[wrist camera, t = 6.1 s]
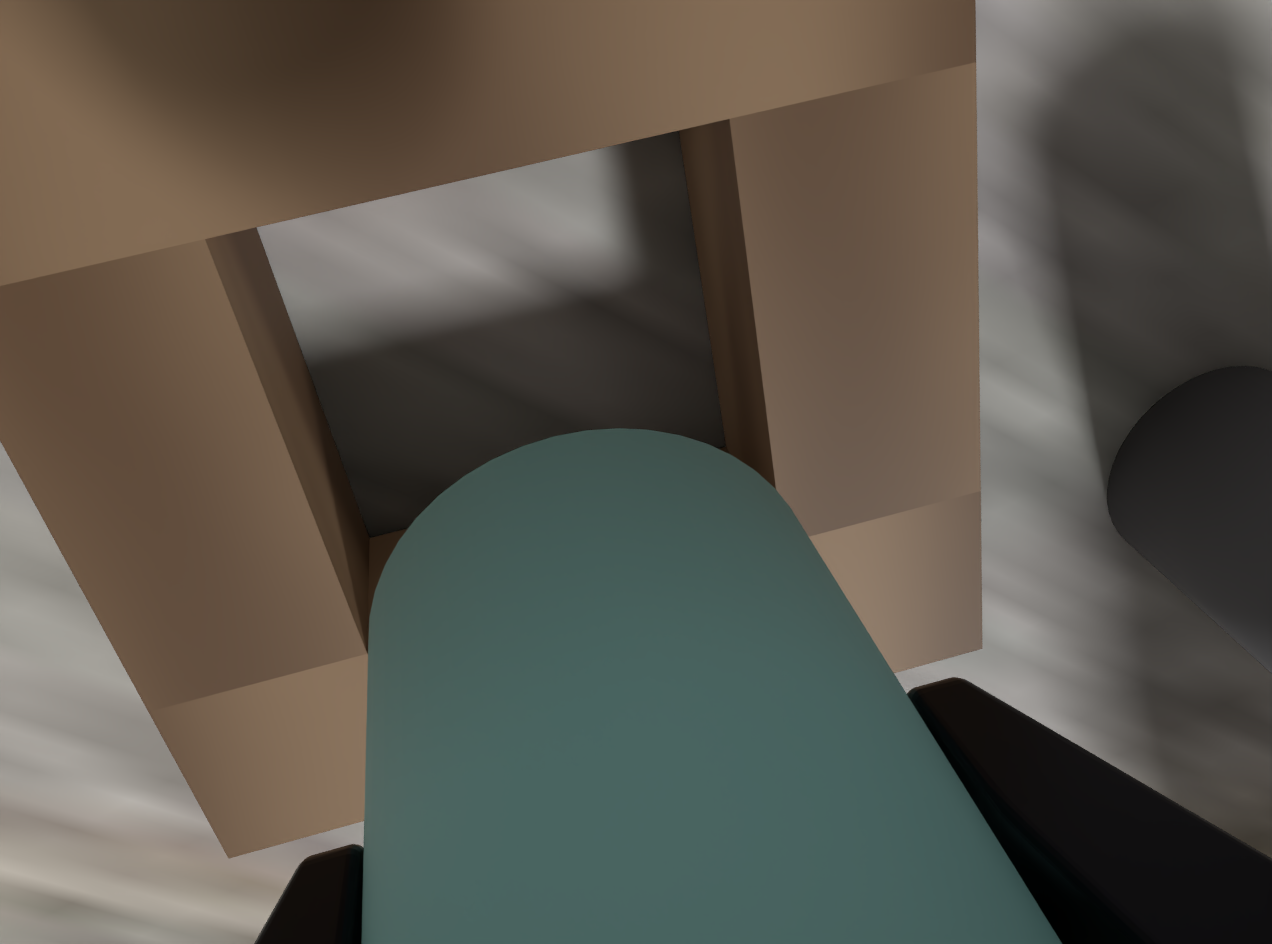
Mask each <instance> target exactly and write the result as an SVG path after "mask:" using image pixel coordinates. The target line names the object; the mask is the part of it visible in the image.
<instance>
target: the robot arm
mask: <svg viewBox="0 0 1272 944" xmlns="http://www.w3.org/2000/svg"><path fill="white" fill-rule="evenodd" d="M907 695H908V697H909V699H910V700H911V702H912V703H913V705H914V707H915V708H916V710H917V711H918V713H919V715H920V716H921V718H922V719H923V721H924V723H925V724H926V726H927V728H928V729H929V731H930V732H931V734H932V736H933V737H934V739H935V740H936V742H937V744H938V745H939V747H940V748H941V750H942V752H943V753H944V755H945V756H946V758H947V760H948V761H949V763H950V764H951V766H952V768H953V769H954V771H955V772H956V774H957V776H958V777H959V779H960V780H961V782H962V784H963V785H964V787H965V788H966V790H967V792H968V793H969V795H970V797H971V798H972V800H973V801H974V803H975V805H976V806H977V808H978V809H979V811H980V813H981V814H982V816H983V817H984V819H985V821H986V822H987V824H988V825H989V827H990V829H991V830H992V832H993V833H994V835H995V837H996V838H997V840H998V841H999V843H1000V845H1001V846H1002V848H1003V849H1004V851H1005V853H1006V854H1007V856H1008V857H1009V859H1010V861H1011V862H1012V864H1013V865H1014V867H1015V869H1016V870H1017V872H1018V874H1019V875H1020V877H1021V878H1022V880H1023V882H1024V883H1025V885H1026V886H1027V888H1028V890H1029V891H1030V893H1031V894H1032V896H1033V898H1034V899H1035V901H1036V902H1037V904H1038V906H1039V907H1040V909H1041V910H1042V912H1043V914H1044V915H1045V917H1046V918H1047V920H1048V922H1049V923H1050V925H1051V926H1052V928H1053V930H1054V931H1055V933H1056V934H1057V936H1058V938H1059V939H1060V941H1061V943H1062V944H1272V859H1271V858H1270V857H1268V856H1266V855H1264V854H1263V853H1261V852H1259V851H1258V850H1256V849H1254V848H1252V847H1251V846H1249V845H1247V844H1246V843H1244V842H1242V841H1240V840H1239V839H1237V838H1235V837H1234V836H1232V835H1230V834H1229V833H1227V832H1225V831H1223V830H1222V829H1220V828H1218V827H1217V826H1215V825H1213V824H1211V823H1210V822H1208V821H1206V820H1205V819H1203V818H1201V817H1200V816H1198V815H1196V814H1194V813H1193V812H1191V811H1189V810H1188V809H1186V808H1184V807H1182V806H1181V805H1179V804H1177V803H1176V802H1174V801H1172V800H1170V799H1169V798H1167V797H1165V796H1164V795H1162V794H1160V793H1159V792H1157V791H1155V790H1153V789H1152V788H1150V787H1148V786H1147V785H1145V784H1143V783H1141V782H1140V781H1138V780H1136V779H1135V778H1133V777H1131V776H1129V775H1128V774H1126V773H1124V772H1123V771H1121V770H1119V769H1118V768H1116V767H1114V766H1112V765H1111V764H1109V763H1107V762H1106V761H1104V760H1102V759H1100V758H1099V757H1097V756H1095V755H1094V754H1092V753H1090V752H1088V751H1087V750H1085V749H1083V748H1082V747H1080V746H1078V745H1077V744H1075V743H1073V742H1071V741H1070V740H1068V739H1066V738H1065V737H1063V736H1061V735H1059V734H1058V733H1056V732H1054V731H1053V730H1051V729H1049V728H1047V727H1046V726H1044V725H1042V724H1041V723H1039V722H1037V721H1036V720H1034V719H1032V718H1030V717H1029V716H1027V715H1025V714H1024V713H1022V712H1020V711H1018V710H1017V709H1015V708H1013V707H1012V706H1010V705H1008V704H1006V703H1005V702H1003V701H1001V700H1000V699H998V698H996V697H995V696H993V695H991V694H989V693H988V692H986V691H984V690H983V689H981V688H979V687H977V686H976V685H974V684H972V683H971V682H969V681H967V680H965V679H961V678H956V677H953V678H948V679H944V680H941V681H937V682H933V683H930V684H926V685H923V686H919V687H915V688H913V689H911V690H910V691H909V692H908V693H907ZM363 854H364V848H363V847H362V846H360V845H356V844H351V845H347V846H344V847H340V848H337V849H333V850H330V851H326V852H322V853H319V854H315V855H312V856H309V857H307V858H306V859H305V860H304V861H303V862H302V863H301V864H300V865H299V866H298V868H297V869H296V871H295V873H294V874H293V876H292V878H291V880H290V881H289V883H288V885H287V887H286V888H285V890H284V892H283V894H282V895H281V897H280V899H279V901H278V903H277V904H276V906H275V908H274V910H273V911H272V913H271V915H270V917H269V918H268V920H267V922H266V924H265V926H264V927H263V929H262V931H261V933H260V934H259V936H258V938H257V940H256V941H255V943H254V944H361V941H362V897H363Z"/></svg>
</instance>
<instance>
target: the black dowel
mask: <svg viewBox="0 0 1272 944" xmlns="http://www.w3.org/2000/svg"><path fill="white" fill-rule="evenodd" d="M1107 502H1108V508H1109V514H1110V517H1111V519H1112V522H1113V524H1114V526H1115V528H1116V529H1117V531H1118V532H1119V533H1120V535H1121V536H1122V537H1123V538H1124V539H1125V540H1126V541H1127V542H1128V543H1129V544H1130V545H1131V546H1133V547H1134V548H1135V549H1136V550H1137V551H1138V552H1139V553H1140V554H1141V555H1142V556H1144V557H1145V558H1146V559H1147V560H1148V561H1149V562H1150V563H1151V564H1152V565H1153V566H1154V567H1156V568H1157V569H1158V570H1159V571H1160V572H1161V573H1162V574H1163V575H1164V576H1165V577H1167V578H1168V579H1169V580H1170V581H1171V582H1172V583H1173V584H1174V585H1175V586H1176V587H1177V588H1179V589H1180V590H1181V591H1182V592H1183V593H1184V594H1185V595H1186V596H1187V597H1188V598H1189V599H1191V600H1192V601H1193V602H1194V603H1195V604H1196V605H1197V606H1198V607H1199V608H1200V609H1202V610H1203V611H1204V612H1205V613H1206V614H1207V615H1208V616H1209V617H1210V618H1211V619H1212V620H1214V621H1215V622H1216V623H1217V624H1218V625H1219V626H1220V627H1221V628H1222V629H1223V630H1225V631H1226V632H1227V633H1228V634H1229V635H1230V636H1231V637H1232V638H1233V639H1234V640H1235V641H1237V642H1238V643H1239V644H1240V645H1241V646H1242V647H1243V648H1244V649H1245V650H1246V651H1248V652H1249V653H1250V654H1251V655H1252V656H1253V657H1254V658H1255V659H1256V660H1257V661H1258V662H1260V663H1261V664H1262V665H1263V666H1264V667H1265V668H1266V669H1267V670H1268V671H1269V672H1271V673H1272V372H1271V371H1269V370H1266V369H1262V368H1258V367H1249V366H1238V367H1228V368H1223V369H1218V370H1215V371H1212V372H1208V373H1205V374H1203V375H1200V376H1198V377H1196V378H1194V379H1191V380H1189V381H1188V382H1186V383H1184V384H1182V385H1181V386H1179V387H1177V388H1176V389H1174V390H1173V391H1171V392H1170V393H1168V394H1167V395H1166V396H1164V397H1163V398H1162V399H1161V400H1160V401H1158V402H1157V403H1156V404H1155V405H1154V406H1152V407H1151V408H1150V410H1149V411H1148V412H1147V413H1146V414H1145V415H1144V416H1143V417H1142V418H1141V419H1140V420H1139V421H1138V423H1137V424H1136V425H1135V426H1134V428H1133V429H1132V430H1131V432H1130V433H1129V435H1128V436H1127V438H1126V439H1125V441H1124V442H1123V444H1122V446H1121V448H1120V450H1119V452H1118V454H1117V456H1116V459H1115V461H1114V464H1113V466H1112V470H1111V473H1110V477H1109V483H1108V490H1107Z"/></svg>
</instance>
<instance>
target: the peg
mask: <svg viewBox="0 0 1272 944" xmlns="http://www.w3.org/2000/svg"><path fill="white" fill-rule="evenodd" d="M361 944H1062V943H1061V941H1060V939H1059V938H1058V936H1057V934H1056V933H1055V931H1054V930H1053V928H1052V926H1051V925H1050V923H1049V922H1048V920H1047V918H1046V917H1045V915H1044V914H1043V912H1042V910H1041V909H1040V907H1039V906H1038V904H1037V902H1036V901H1035V899H1034V898H1033V896H1032V894H1031V893H1030V891H1029V890H1028V888H1027V886H1026V885H1025V883H1024V882H1023V880H1022V878H1021V877H1020V875H1019V874H1018V872H1017V870H1016V869H1015V867H1014V865H1013V864H1012V862H1011V861H1010V859H1009V857H1008V856H1007V854H1006V853H1005V851H1004V849H1003V848H1002V846H1001V845H1000V843H999V841H998V840H997V838H996V837H995V835H994V833H993V832H992V830H991V829H990V827H989V825H988V824H987V822H986V821H985V819H984V817H983V816H982V814H981V813H980V811H979V809H978V808H977V806H976V805H975V803H974V801H973V800H972V798H971V797H970V795H969V793H968V792H967V790H966V788H965V787H964V785H963V784H962V782H961V780H960V779H959V777H958V776H957V774H956V772H955V771H954V769H953V768H952V766H951V764H950V763H949V761H948V760H947V758H946V756H945V755H944V753H943V752H942V750H941V748H940V747H939V745H938V744H937V742H936V740H935V739H934V737H933V736H932V734H931V732H930V731H929V729H928V728H927V726H926V724H925V723H924V721H923V719H922V718H921V716H920V715H919V713H918V711H917V710H916V708H915V707H914V705H913V703H912V702H911V700H910V699H909V697H908V695H907V694H906V692H905V691H904V689H903V687H902V686H901V684H900V683H899V681H898V679H897V678H896V676H895V675H894V673H893V671H892V670H891V668H890V667H889V665H888V663H887V662H886V660H885V659H884V657H883V655H882V654H881V652H880V650H879V649H878V647H877V646H876V644H875V642H874V641H873V639H872V638H871V636H870V634H869V633H868V631H867V630H866V628H865V626H864V625H863V623H862V622H861V620H860V618H859V617H858V615H857V614H856V612H855V610H854V609H853V607H852V606H851V604H850V602H849V601H848V599H847V598H846V596H845V594H844V593H843V591H842V590H841V588H840V586H839V585H838V583H837V582H836V580H835V578H834V577H833V575H832V573H831V572H830V570H829V569H828V567H827V565H826V564H825V562H824V561H823V559H822V557H821V556H820V554H819V553H818V551H817V549H816V548H815V546H814V545H813V543H812V541H811V540H810V538H809V537H808V535H807V533H806V532H805V530H804V529H803V527H802V525H801V524H800V522H799V521H798V519H797V517H796V516H795V514H794V513H793V511H792V509H791V508H790V506H789V505H788V504H787V503H786V501H785V500H784V499H783V498H782V496H781V495H780V494H779V493H778V491H777V490H776V489H775V488H774V487H773V486H772V485H771V484H770V483H769V482H768V481H766V480H765V479H764V478H763V477H762V476H761V475H760V474H759V473H758V472H756V471H755V470H754V469H752V468H751V467H749V466H748V465H746V464H745V463H743V462H742V461H740V460H739V459H737V458H736V457H734V456H732V455H730V454H728V453H726V452H724V451H722V450H720V449H717V448H715V447H713V446H711V445H709V444H706V443H703V442H700V441H697V440H694V439H690V438H687V437H684V436H681V435H676V434H671V433H665V432H659V431H653V430H644V429H624V428H613V429H599V430H585V431H580V432H575V433H569V434H564V435H559V436H553V437H550V438H547V439H544V440H540V441H537V442H534V443H531V444H528V445H524V446H521V447H519V448H517V449H515V450H512V451H510V452H508V453H506V454H503V455H501V456H499V457H497V458H494V459H492V460H490V461H489V462H487V463H485V464H484V465H482V466H480V467H478V468H477V469H475V470H473V471H472V472H470V473H468V474H467V475H465V476H463V477H462V478H461V479H459V480H458V481H457V482H456V483H454V484H453V485H452V486H450V487H449V488H448V489H447V490H445V491H444V492H443V493H441V494H440V495H439V496H438V497H437V498H436V499H435V500H434V501H433V502H432V503H431V504H430V505H429V506H428V507H427V508H426V509H425V510H424V511H423V512H422V513H421V514H420V515H419V516H418V517H417V518H416V519H415V520H414V522H413V523H412V524H411V525H410V527H409V528H408V529H407V531H406V532H405V533H404V535H403V536H402V537H401V538H400V540H399V541H398V543H397V545H396V546H395V548H394V550H393V552H392V554H391V555H390V557H389V559H388V561H387V562H386V564H385V566H384V569H383V571H382V574H381V577H380V579H379V582H378V584H377V587H376V590H375V593H374V598H373V603H372V607H371V612H370V617H369V639H368V679H367V723H366V766H365V810H364V854H363V897H362V941H361Z"/></svg>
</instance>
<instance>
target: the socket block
mask: <svg viewBox="0 0 1272 944" xmlns="http://www.w3.org/2000/svg"><path fill="white" fill-rule="evenodd" d="M678 130H679V136H680V143H681V149H682V156H683V163H684V169H685V176H686V183H687V189H688V196H689V203H690V209H691V216H692V223H693V229H694V236H695V243H696V249H697V256H698V263H699V269H700V276H701V283H702V289H703V296H704V303H705V309H706V316H707V322H708V329H709V336H710V342H711V349H712V356H713V362H714V369H715V376H716V382H717V389H718V396H719V402H720V409H721V416H722V422H723V429H724V436H725V442H726V447H723V448H720V450H722V451H724V452H726V453H728V454H730V455H732V456H734V457H736V458H737V459H739V460H740V461H742V462H743V463H745V464H746V465H748V466H749V467H751V468H752V469H754V470H755V471H756V472H758V473H759V474H760V475H761V476H762V477H763V478H764V479H765V480H766V481H768V482H769V483H770V484H771V485H772V486H773V487H774V488H775V489H776V490H777V491H778V493H779V494H780V495H781V496H782V498H783V499H784V500H785V501H786V503H787V504H788V505H789V506H790V508H791V509H792V511H793V513H794V514H795V516H796V517H797V519H798V521H799V522H800V524H801V525H802V527H803V529H804V530H805V532H806V533H807V535H808V537H809V538H810V540H811V541H812V543H813V545H814V546H815V548H816V549H817V551H818V553H819V554H820V556H821V557H822V559H823V561H824V562H825V564H826V565H827V567H828V569H829V570H830V572H831V573H832V575H833V577H834V578H835V580H836V582H837V583H838V585H839V586H840V588H841V590H842V591H843V593H844V594H845V596H846V598H847V599H848V601H849V602H850V604H851V606H852V607H853V609H854V610H855V612H856V614H857V615H858V617H859V618H860V620H861V622H862V623H863V625H864V626H865V628H866V630H867V631H868V633H869V634H870V636H871V638H872V639H873V641H874V642H875V644H876V646H877V647H878V649H879V650H880V652H881V654H882V655H883V657H884V659H885V660H886V662H887V663H888V665H889V667H890V668H891V670H892V671H893V673H896V672H900V671H904V670H907V669H911V668H914V667H918V666H922V665H925V664H929V663H932V662H936V661H940V660H943V659H947V658H950V657H954V656H957V655H961V654H965V653H968V652H972V651H975V650H979V649H982V573H981V480H980V387H979V295H978V202H977V109H976V17H975V0H0V441H1V443H2V445H3V447H4V448H5V450H6V452H7V454H8V456H9V458H10V459H11V461H12V463H13V465H14V467H15V469H16V470H17V472H18V474H19V476H20V478H21V480H22V481H23V483H24V485H25V487H26V489H27V490H28V492H29V494H30V496H31V498H32V500H33V501H34V503H35V505H36V507H37V509H38V511H39V512H40V514H41V516H42V518H43V520H44V522H45V523H46V525H47V527H48V529H49V531H50V533H51V534H52V536H53V538H54V540H55V542H56V544H57V545H58V547H59V549H60V551H61V553H62V555H63V556H64V558H65V560H66V562H67V564H68V565H69V567H70V569H71V571H72V573H73V575H74V576H75V578H76V580H77V582H78V584H79V586H80V587H81V589H82V591H83V593H84V595H85V597H86V598H87V600H88V602H89V604H90V606H91V608H92V609H93V611H94V613H95V615H96V617H97V619H98V620H99V622H100V624H101V626H102V628H103V629H104V631H105V633H106V635H107V637H108V639H109V640H110V642H111V644H112V646H113V648H114V650H115V651H116V653H117V655H118V657H119V659H120V661H121V662H122V664H123V666H124V668H125V670H126V672H127V673H128V675H129V677H130V679H131V681H132V683H133V684H134V686H135V688H136V690H137V692H138V694H139V695H140V697H141V699H142V701H143V703H144V704H145V706H146V708H147V710H148V712H149V714H150V715H151V717H152V719H153V721H154V723H155V725H156V726H157V728H158V730H159V732H160V734H161V736H162V737H163V739H164V741H165V743H166V745H167V747H168V748H169V750H170V752H171V754H172V756H173V758H174V759H175V761H176V763H177V765H178V767H179V769H180V770H181V772H182V774H183V776H184V778H185V779H186V781H187V783H188V785H189V787H190V789H191V790H192V792H193V794H194V796H195V798H196V800H197V801H198V803H199V805H200V807H201V809H202V811H203V812H204V814H205V816H206V818H207V820H208V822H209V823H210V825H211V827H212V829H213V831H214V833H215V834H216V836H217V838H218V840H219V842H220V843H221V845H222V847H223V849H224V851H225V853H226V854H227V856H228V858H232V857H236V856H239V855H243V854H247V853H250V852H254V851H257V850H261V849H265V848H268V847H272V846H275V845H279V844H283V843H286V842H290V841H293V840H297V839H300V838H304V837H308V836H311V835H315V834H318V833H322V832H326V831H329V830H333V829H336V828H340V827H344V826H347V825H351V824H354V823H358V822H361V821H364V810H365V766H366V723H367V679H368V639H369V617H370V612H371V607H372V603H373V598H374V593H375V590H376V587H377V584H378V582H379V579H380V577H381V574H382V571H383V569H384V566H385V564H386V562H387V561H388V559H389V557H390V555H391V554H392V552H393V550H394V548H395V546H396V545H397V543H398V541H399V540H400V538H401V537H402V536H403V535H404V533H405V532H406V531H407V529H408V528H407V529H403V530H399V531H396V532H392V533H388V534H384V535H380V536H376V537H372V538H369V535H368V533H367V530H366V527H365V524H364V522H363V519H362V516H361V513H360V511H359V508H358V505H357V503H356V500H355V497H354V494H353V492H352V489H351V486H350V483H349V481H348V478H347V475H346V472H345V470H344V467H343V464H342V461H341V459H340V456H339V453H338V450H337V448H336V445H335V442H334V439H333V437H332V434H331V431H330V428H329V426H328V423H327V420H326V417H325V415H324V412H323V409H322V406H321V404H320V401H319V398H318V395H317V393H316V390H315V387H314V384H313V382H312V379H311V376H310V373H309V371H308V368H307V365H306V362H305V360H304V357H303V354H302V351H301V349H300V346H299V343H298V341H297V338H296V335H295V332H294V330H293V327H292V324H291V321H290V319H289V316H288V313H287V310H286V308H285V305H284V302H283V299H282V297H281V294H280V291H279V288H278V286H277V283H276V280H275V277H274V275H273V272H272V269H271V266H270V264H269V261H268V258H267V255H266V253H265V250H264V247H263V244H262V242H261V239H260V236H259V233H258V231H257V228H256V227H260V226H264V225H268V224H273V223H277V222H282V221H286V220H290V219H295V218H299V217H303V216H308V215H312V214H316V213H321V212H325V211H329V210H334V209H338V208H343V207H347V206H351V205H356V204H360V203H364V202H369V201H373V200H377V199H382V198H386V197H391V196H395V195H399V194H404V193H408V192H412V191H417V190H421V189H425V188H430V187H434V186H439V185H443V184H447V183H452V182H456V181H460V180H465V179H469V178H473V177H478V176H482V175H486V174H491V173H495V172H500V171H504V170H508V169H513V168H517V167H521V166H526V165H530V164H534V163H539V162H543V161H548V160H552V159H556V158H561V157H565V156H569V155H574V154H578V153H582V152H587V151H591V150H595V149H600V148H604V147H609V146H613V145H617V144H622V143H626V142H630V141H635V140H639V139H643V138H648V137H652V136H657V135H661V134H665V133H670V132H674V131H678Z"/></svg>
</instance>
